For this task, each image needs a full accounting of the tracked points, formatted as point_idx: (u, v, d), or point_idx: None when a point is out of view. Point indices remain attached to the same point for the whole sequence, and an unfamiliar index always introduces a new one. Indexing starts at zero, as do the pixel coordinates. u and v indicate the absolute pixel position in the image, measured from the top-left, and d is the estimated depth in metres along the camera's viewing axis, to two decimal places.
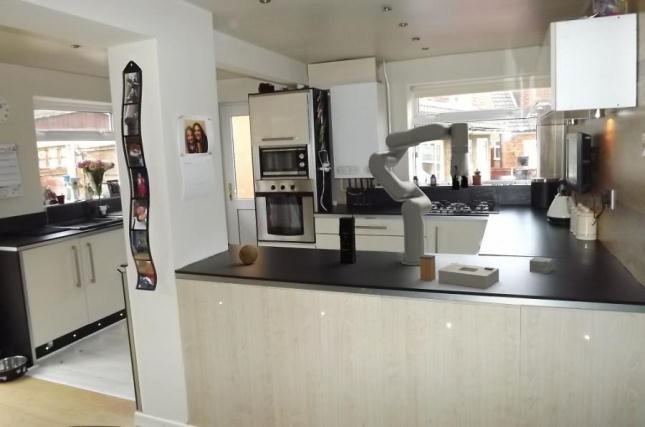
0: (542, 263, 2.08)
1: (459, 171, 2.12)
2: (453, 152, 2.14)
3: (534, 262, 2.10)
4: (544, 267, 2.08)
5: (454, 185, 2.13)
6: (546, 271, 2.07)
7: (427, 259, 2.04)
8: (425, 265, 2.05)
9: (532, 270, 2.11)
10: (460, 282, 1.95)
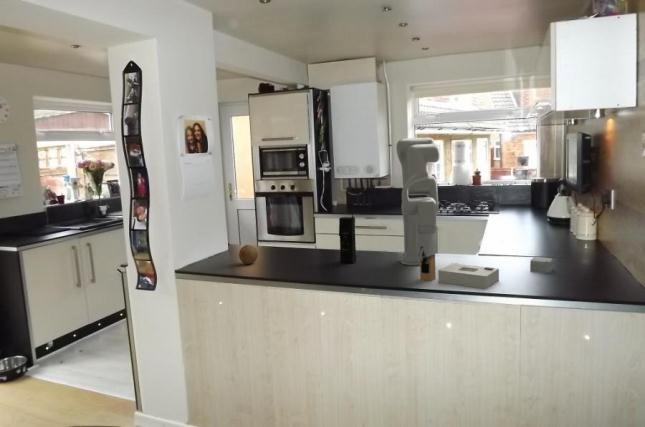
0: (543, 263, 2.08)
1: (425, 252, 2.00)
2: (420, 231, 2.03)
3: (535, 262, 2.10)
4: (545, 267, 2.08)
5: (423, 268, 2.04)
6: (547, 271, 2.07)
7: None
8: None
9: (533, 270, 2.11)
10: (460, 282, 1.95)
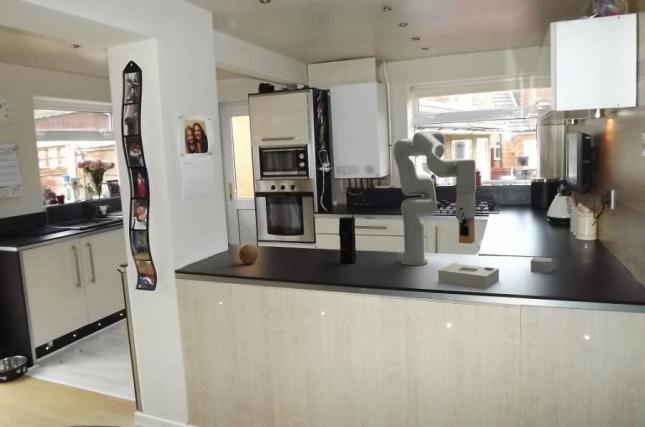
0: (544, 263, 2.08)
1: (465, 213, 1.92)
2: (459, 192, 1.94)
3: (535, 262, 2.10)
4: (545, 267, 2.08)
5: (462, 231, 1.95)
6: (548, 271, 2.08)
7: None
8: None
9: (533, 270, 2.11)
10: (460, 282, 1.95)
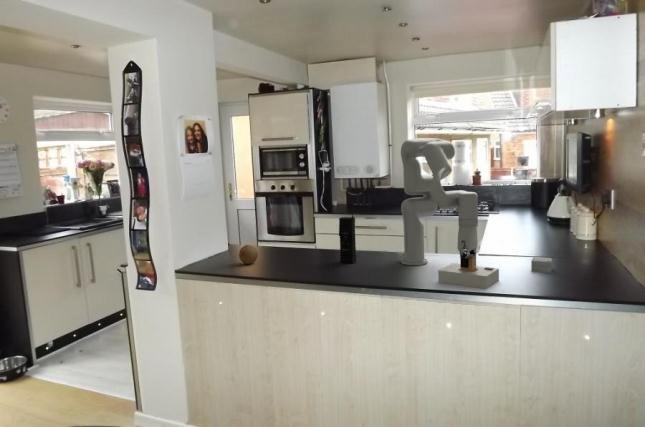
0: (544, 263, 2.08)
1: (467, 247, 1.94)
2: (461, 225, 1.96)
3: (536, 262, 2.10)
4: (546, 267, 2.08)
5: (463, 262, 1.96)
6: (548, 271, 2.08)
7: None
8: None
9: (534, 270, 2.10)
10: (460, 282, 1.95)
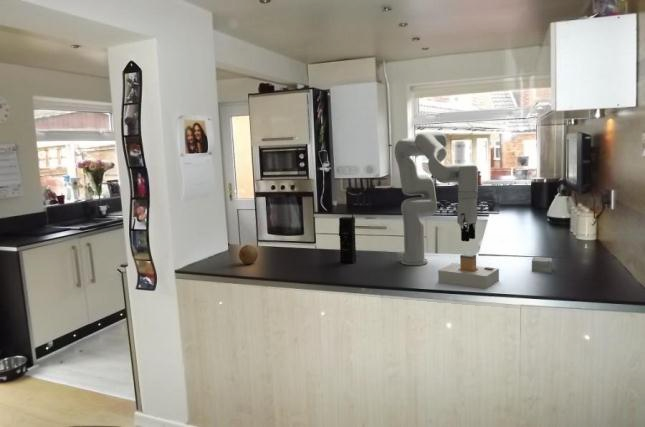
0: (545, 263, 2.08)
1: (467, 219, 1.92)
2: (460, 198, 1.94)
3: (536, 262, 2.10)
4: (547, 267, 2.08)
5: (463, 236, 1.95)
6: (549, 271, 2.08)
7: (468, 258, 1.97)
8: (465, 264, 1.98)
9: (534, 270, 2.10)
10: (460, 282, 1.95)
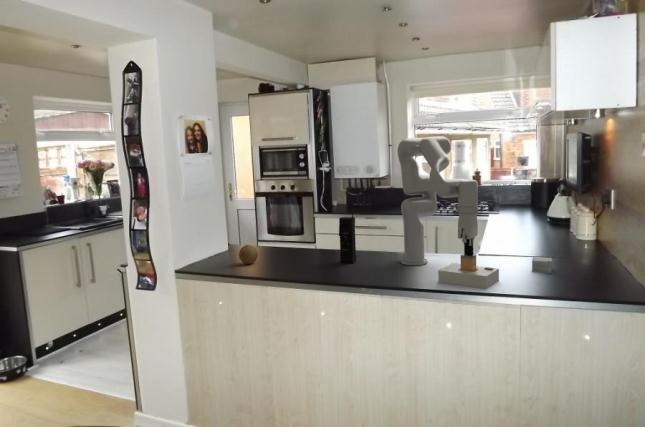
0: (545, 263, 2.08)
1: (467, 234, 1.93)
2: (461, 213, 1.95)
3: (537, 262, 2.10)
4: (547, 267, 2.08)
5: (466, 250, 1.97)
6: (549, 271, 2.08)
7: (468, 258, 1.97)
8: (466, 264, 1.98)
9: (535, 270, 2.10)
10: (460, 282, 1.95)
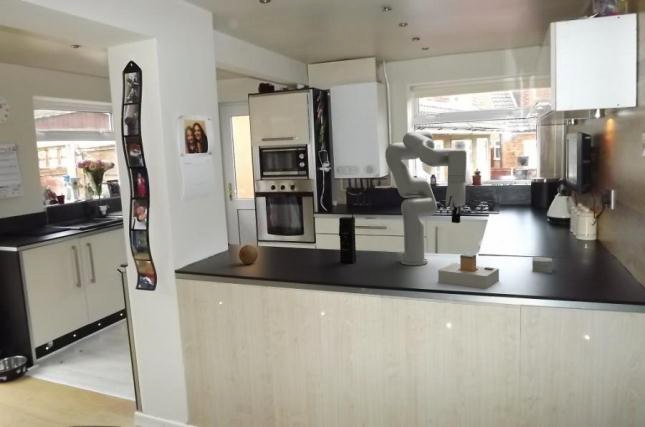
0: (546, 263, 2.08)
1: (455, 202, 1.99)
2: (449, 181, 2.01)
3: (537, 262, 2.09)
4: (547, 267, 2.08)
5: (454, 218, 2.04)
6: (550, 270, 2.08)
7: (468, 258, 1.97)
8: (465, 264, 1.98)
9: (535, 270, 2.10)
10: (460, 282, 1.95)
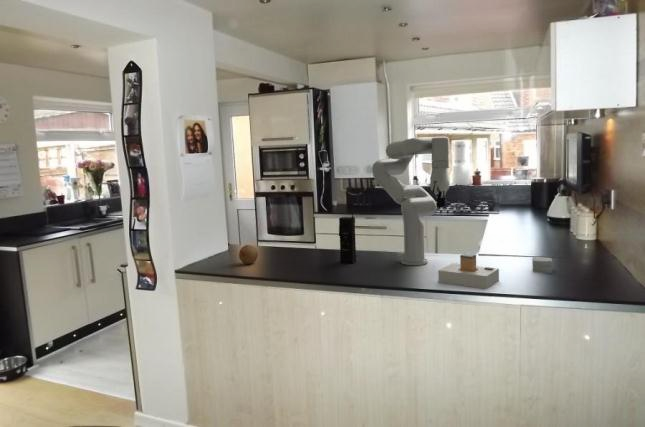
0: (546, 263, 2.08)
1: (439, 186, 2.10)
2: (433, 167, 2.12)
3: (538, 262, 2.09)
4: (548, 267, 2.08)
5: (439, 202, 2.15)
6: (550, 270, 2.08)
7: (468, 258, 1.97)
8: (465, 264, 1.98)
9: (536, 270, 2.10)
10: (460, 282, 1.95)
